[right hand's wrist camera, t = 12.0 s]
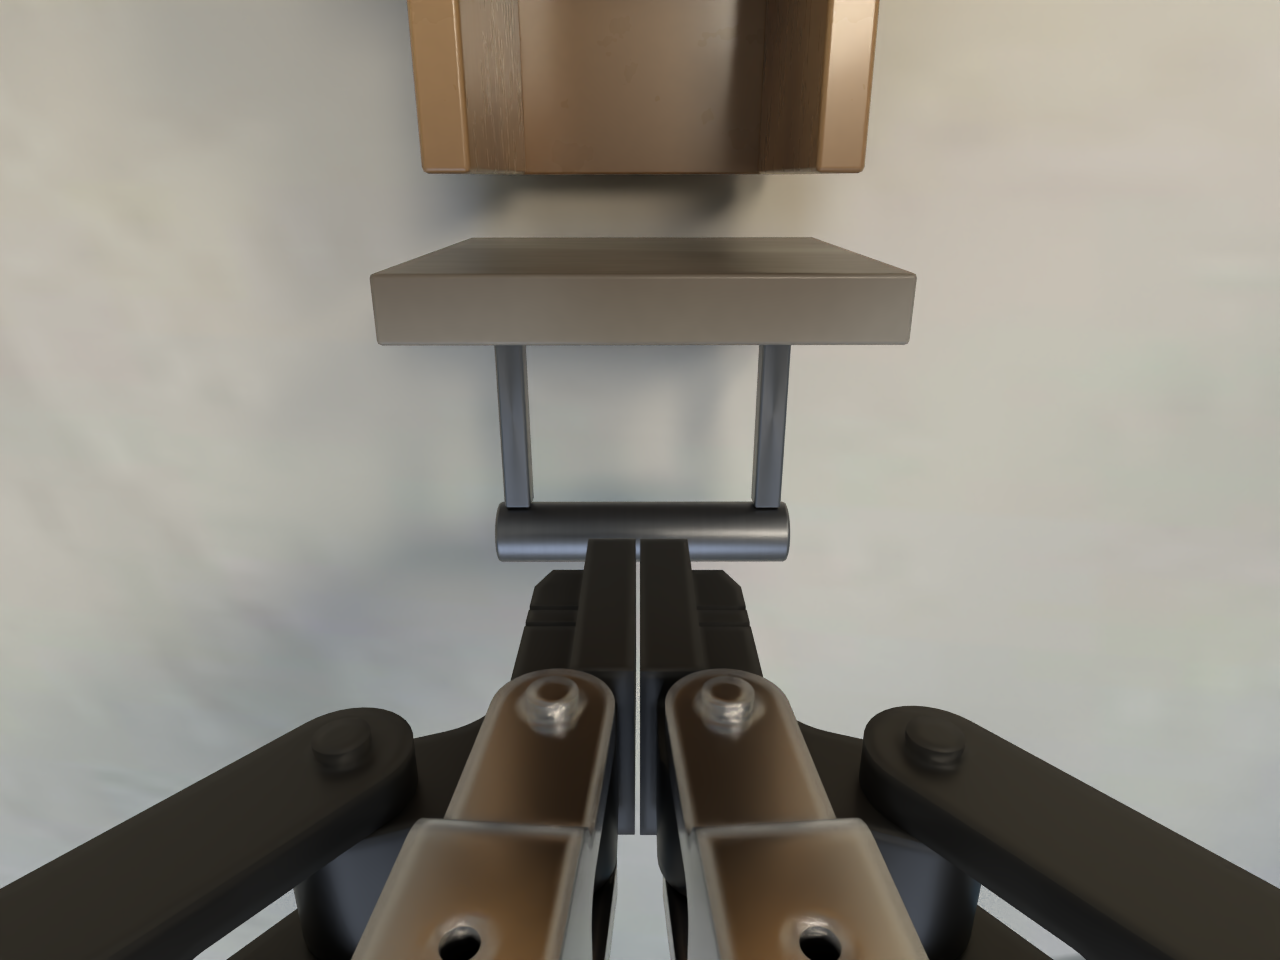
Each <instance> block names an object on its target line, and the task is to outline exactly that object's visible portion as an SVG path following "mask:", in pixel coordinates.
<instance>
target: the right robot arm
mask: <svg viewBox="0 0 1280 960" xmlns="http://www.w3.org/2000/svg"><path fill="white" fill-rule="evenodd" d="M635 728H636V538H589V539H588V544H587V551H586V558H585V565H584V570H553V571H551V572H550V573H549V574H548V575H547V576H546V577H545V578H544V579H543V580H542V581H541V582H539V583H538V584H537V585H536V586H535V588H534V592H533V596H532V600H531V604H530V610H529V611H528V615H527V619H526V626H525V627H524V631H523V635H522V639H521V642H520V646H519V650H518V654H517V658H516V662H515V666H514V670H513V673H512V677H511V681H510V682H508V683H507V684H505V685H504V686H503V687H502V688H500V689H499V691H498V692H497V693H496V694H495V696H494V697H493V699H492V701H491V703H490V706H489V708H488V711H487V713H486V715H485V716H484V717H482V718H480V719H479V720H477V721H475V722H473V723H470V724H468V725H466V726H463V727H460V728H457V729H454V730H450V731H446V732H442V733H437V734H432V735H428V736H423V737H419V738H414V739H413V732H412V730H411V727H410V725H409V724H408V723H407V721H406V720H404V719H403V718H402V717H401V716H399V715H397V714H395V713H393V712H390V711H387V710H384V709H378V708H351V709H345V710H339V711H336V712H332V713H328V714H326V715H323V716H320V717H317V718H315V719H313V720H311V721H309V722H307V723H305V724H303V725H301V726H299V727H298V728H296V729H294V730H292V731H290V732H288V733H287V734H285V735H283V736H281V737H279V738H277V739H276V740H274V741H272V742H270V743H268V744H266V745H264V746H263V747H261V748H259V749H257V750H255V751H253V752H252V753H250V754H248V755H246V756H244V757H242V758H241V759H239V760H237V761H235V762H233V763H231V764H229V765H228V766H226V767H224V768H222V769H220V770H218V771H217V772H215V773H213V774H211V775H209V776H207V777H206V778H204V779H202V780H200V781H198V782H196V783H194V784H193V785H191V786H189V787H187V788H185V789H183V790H182V791H180V792H178V793H176V794H174V795H172V796H171V797H169V798H167V799H165V800H163V801H161V802H159V803H158V804H156V805H154V806H152V807H150V808H148V809H147V810H145V811H143V812H141V813H139V814H137V815H136V816H134V817H132V818H130V819H128V820H126V821H124V822H123V823H121V824H119V825H117V826H115V827H113V828H112V829H110V830H108V831H106V832H104V833H102V834H101V835H99V836H97V837H95V838H93V839H91V840H90V841H88V842H86V843H84V844H82V845H80V846H78V847H77V848H75V849H73V850H71V851H69V852H67V853H66V854H64V855H62V856H60V857H58V858H56V859H55V860H53V861H51V862H49V863H47V864H45V865H43V866H42V867H40V868H38V869H36V870H34V871H32V872H31V873H29V874H27V875H25V876H23V877H21V878H20V879H18V880H16V881H14V882H12V883H10V884H8V885H7V886H5V887H3V888H1V889H0V960H193V959H194V958H195V957H196V956H197V955H199V954H200V953H201V952H203V951H204V950H205V949H207V948H208V947H210V946H211V945H213V944H214V943H215V942H217V941H218V940H220V939H221V938H223V937H224V936H225V935H227V934H228V933H230V932H231V931H233V930H234V929H235V928H237V927H238V926H240V925H241V924H243V923H244V922H245V921H247V920H248V919H250V918H251V917H253V916H254V915H255V914H257V913H258V912H260V911H261V910H263V909H264V908H265V907H267V906H268V905H270V904H271V903H273V902H274V901H275V900H277V899H278V898H280V897H281V896H283V895H284V894H286V893H287V892H288V891H290V890H291V889H294V894H295V899H296V904H297V909H296V910H295V911H293V912H292V913H291V914H289V915H288V916H286V917H285V918H284V919H282V920H281V921H280V922H278V923H277V924H275V925H274V926H273V927H271V928H270V929H268V930H267V931H266V932H264V933H263V934H262V935H260V936H259V937H257V938H256V939H255V940H253V941H252V942H250V943H249V944H248V945H246V946H245V947H244V948H242V949H241V950H239V951H238V952H237V953H235V954H234V955H232V956H231V957H230V958H228V959H227V960H609V958H610V950H611V942H612V934H613V925H614V917H615V909H616V901H617V839H618V835H635ZM640 835H657V857H658V865H659V867H660V870H661V873H662V874H663V901H664V909H665V917H666V925H667V934H668V942H669V950H670V958H671V960H1053V959H1052V958H1050V957H1049V956H1048V955H1046V954H1045V953H1043V952H1042V951H1041V950H1039V949H1038V948H1036V947H1035V946H1034V945H1032V944H1031V943H1030V942H1028V941H1027V940H1025V939H1024V938H1023V937H1021V936H1020V935H1018V934H1017V933H1016V932H1014V931H1013V930H1012V929H1010V928H1009V927H1007V926H1006V925H1005V924H1003V923H1002V922H1000V921H999V920H998V919H996V918H995V917H994V916H992V915H991V914H989V913H988V912H987V911H985V910H984V909H982V908H981V907H980V906H978V905H977V903H978V898H979V892H980V887H981V884H982V885H983V886H984V887H986V888H987V889H989V890H990V891H992V892H993V893H994V894H996V895H997V896H999V897H1000V898H1002V899H1003V900H1004V901H1006V902H1007V903H1009V904H1010V905H1012V906H1013V907H1015V908H1016V909H1017V910H1019V911H1020V912H1022V913H1023V914H1025V915H1026V916H1027V917H1029V918H1030V919H1032V920H1033V921H1035V922H1036V923H1037V924H1039V925H1040V926H1042V927H1043V928H1045V929H1046V930H1047V931H1049V932H1050V933H1052V934H1053V935H1055V936H1056V937H1057V938H1059V939H1060V940H1062V941H1063V942H1065V943H1066V944H1067V945H1069V946H1070V947H1072V948H1073V949H1074V950H1076V951H1077V952H1078V953H1080V954H1081V955H1082V956H1083V957H1084V958H1085V959H1086V960H1280V889H1279V888H1277V887H1275V886H1273V885H1272V884H1270V883H1268V882H1266V881H1264V880H1262V879H1260V878H1259V877H1257V876H1255V875H1253V874H1251V873H1249V872H1248V871H1246V870H1244V869H1242V868H1240V867H1238V866H1237V865H1235V864H1233V863H1231V862H1229V861H1227V860H1225V859H1224V858H1222V857H1220V856H1218V855H1216V854H1214V853H1213V852H1211V851H1209V850H1207V849H1205V848H1203V847H1202V846H1200V845H1198V844H1196V843H1194V842H1192V841H1190V840H1189V839H1187V838H1185V837H1183V836H1181V835H1179V834H1178V833H1176V832H1174V831H1172V830H1170V829H1168V828H1167V827H1165V826H1163V825H1161V824H1159V823H1157V822H1155V821H1154V820H1152V819H1150V818H1148V817H1146V816H1144V815H1143V814H1141V813H1139V812H1137V811H1135V810H1133V809H1132V808H1130V807H1128V806H1126V805H1124V804H1122V803H1120V802H1119V801H1117V800H1115V799H1113V798H1111V797H1109V796H1108V795H1106V794H1104V793H1102V792H1100V791H1098V790H1097V789H1095V788H1093V787H1091V786H1089V785H1087V784H1085V783H1084V782H1082V781H1080V780H1078V779H1076V778H1074V777H1073V776H1071V775H1069V774H1067V773H1065V772H1063V771H1062V770H1060V769H1058V768H1056V767H1054V766H1052V765H1050V764H1049V763H1047V762H1045V761H1043V760H1041V759H1039V758H1038V757H1036V756H1034V755H1032V754H1030V753H1028V752H1027V751H1025V750H1023V749H1021V748H1019V747H1017V746H1015V745H1014V744H1012V743H1010V742H1008V741H1006V740H1004V739H1003V738H1001V737H999V736H997V735H995V734H993V733H992V732H990V731H988V730H986V729H984V728H982V727H981V726H979V725H977V724H975V723H973V722H971V721H969V720H967V719H965V718H963V717H961V716H959V715H956V714H953V713H951V712H948V711H944V710H940V709H936V708H930V707H923V706H901V707H895V708H891V709H888V710H884V711H882V712H880V713H878V714H877V715H875V716H874V717H873V718H872V719H871V720H870V721H869V722H868V724H867V725H866V728H865V730H864V737H863V739H859V738H854V737H850V736H845V735H840V734H836V733H831V732H827V731H823V730H820V729H816V728H813V727H811V726H808V725H805V724H803V723H801V722H799V721H797V720H796V718H795V716H794V713H793V711H792V708H791V706H790V703H789V701H788V699H787V697H786V696H785V694H784V693H783V692H782V691H781V689H780V688H778V687H777V686H776V685H775V684H773V683H772V682H770V681H769V680H767V679H765V678H763V675H762V671H761V667H760V662H759V658H758V654H757V650H756V646H755V642H754V638H753V634H752V630H751V627H750V622H749V618H748V614H747V610H746V606H745V602H744V598H743V594H742V590H741V587H740V586H739V585H738V584H737V583H736V582H735V581H734V580H733V579H732V578H731V577H730V576H729V575H727V574H726V573H725V572H724V571H723V570H692V569H691V561H690V554H689V546H688V539H640Z"/></svg>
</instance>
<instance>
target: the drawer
mask: <svg viewBox="0 0 1280 960" xmlns="http://www.w3.org/2000/svg"><path fill="white" fill-rule="evenodd" d="M879 2H880V0H407V9H408V20H409V31H410V42H411V53H412V64H413V75H414V86H415V97H416V108H417V119H418V130H419V141H420V152H421V163H422V168H423V170H424V172H426V173H429V174H495V175H608V174H829V173H859V172H861V171H863V169H864V166H865V155H866V144H867V133H868V123H869V112H870V101H871V90H872V79H873V68H874V57H875V46H876V35H877V24H878V13H879ZM916 280H917V277H916V274H914V273H911V272H909V271H906V270H903V269H900V268H897V267H894V266H892V265H889V264H886V263H883V262H880V261H877V260H875V259H872V258H869V257H866V256H863V255H860V254H858V253H855V252H852V251H849V250H846V249H843V248H841V247H838V246H835V245H832V244H829V243H826V242H824V241H821V240H818V239H815V238H812V237H755V238H470V239H467V240H465V241H462V242H459V243H456V244H454V245H451V246H448V247H445V248H443V249H440V250H437V251H434V252H432V253H429V254H426V255H423V256H421V257H418V258H415V259H412V260H410V261H407V262H404V263H401V264H399V265H396V266H393V267H390V268H388V269H385V270H382V271H379V272H377V273H374V274H372V275H371V276H370V285H371V293H372V302H373V310H374V319H375V327H376V336H377V342H378V344H380V345H494V346H495V361H496V376H497V392H498V407H499V422H500V437H501V452H502V468H503V483H504V498H505V502H502V503H500V504H499V507H498V510H497V514H496V523H495V543H496V552H497V556H498V558H499V560H500V561H502V562H585V558H586V551H587V544H588V539H589V538H636V561H640V539H688V546H689V554H690V561H785V560H786V559H787V556H788V552H789V546H790V521H789V513H788V509H787V506H786V504H785V503H784V502H780V501H781V486H782V471H783V456H784V441H785V426H786V410H787V395H788V380H789V365H790V350H791V345H905V344H907V343H908V342H909V339H910V330H911V322H912V313H913V305H914V297H915V288H916ZM526 345H759V360H758V379H757V398H756V418H755V437H754V456H753V475H752V494H751V498H752V501H753V502H532V501H533V498H534V495H533V476H532V457H531V438H530V418H529V399H528V380H527V361H526Z"/></svg>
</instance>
